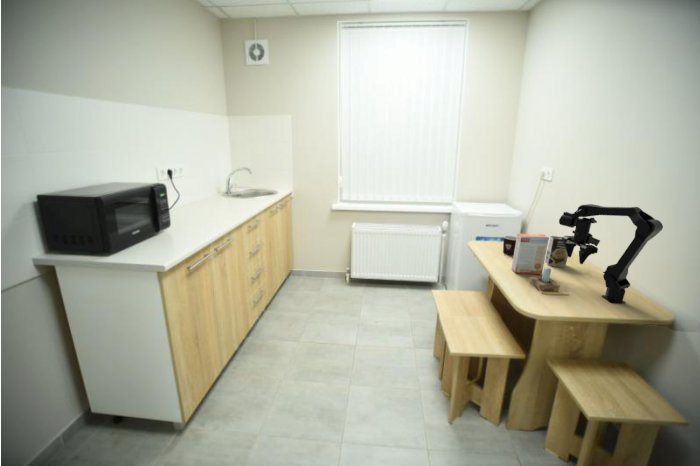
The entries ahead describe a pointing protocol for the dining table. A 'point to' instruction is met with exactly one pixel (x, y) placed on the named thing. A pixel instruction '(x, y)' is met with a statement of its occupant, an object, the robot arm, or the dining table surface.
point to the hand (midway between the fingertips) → (575, 260)
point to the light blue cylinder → (546, 275)
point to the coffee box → (556, 252)
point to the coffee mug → (509, 245)
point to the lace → (553, 293)
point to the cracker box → (529, 253)
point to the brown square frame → (544, 285)
